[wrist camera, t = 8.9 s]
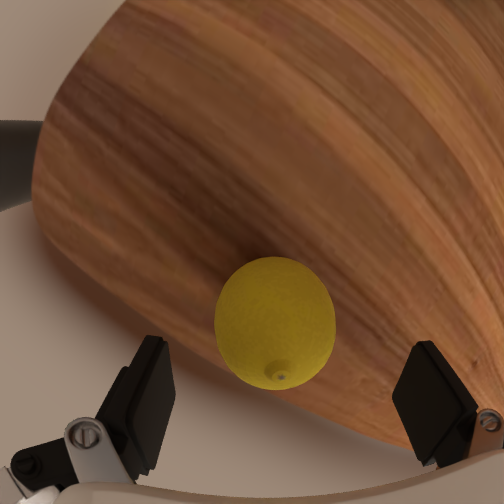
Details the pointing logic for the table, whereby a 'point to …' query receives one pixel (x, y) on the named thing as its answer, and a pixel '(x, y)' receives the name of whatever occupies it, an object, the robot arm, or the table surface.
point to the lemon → (275, 323)
